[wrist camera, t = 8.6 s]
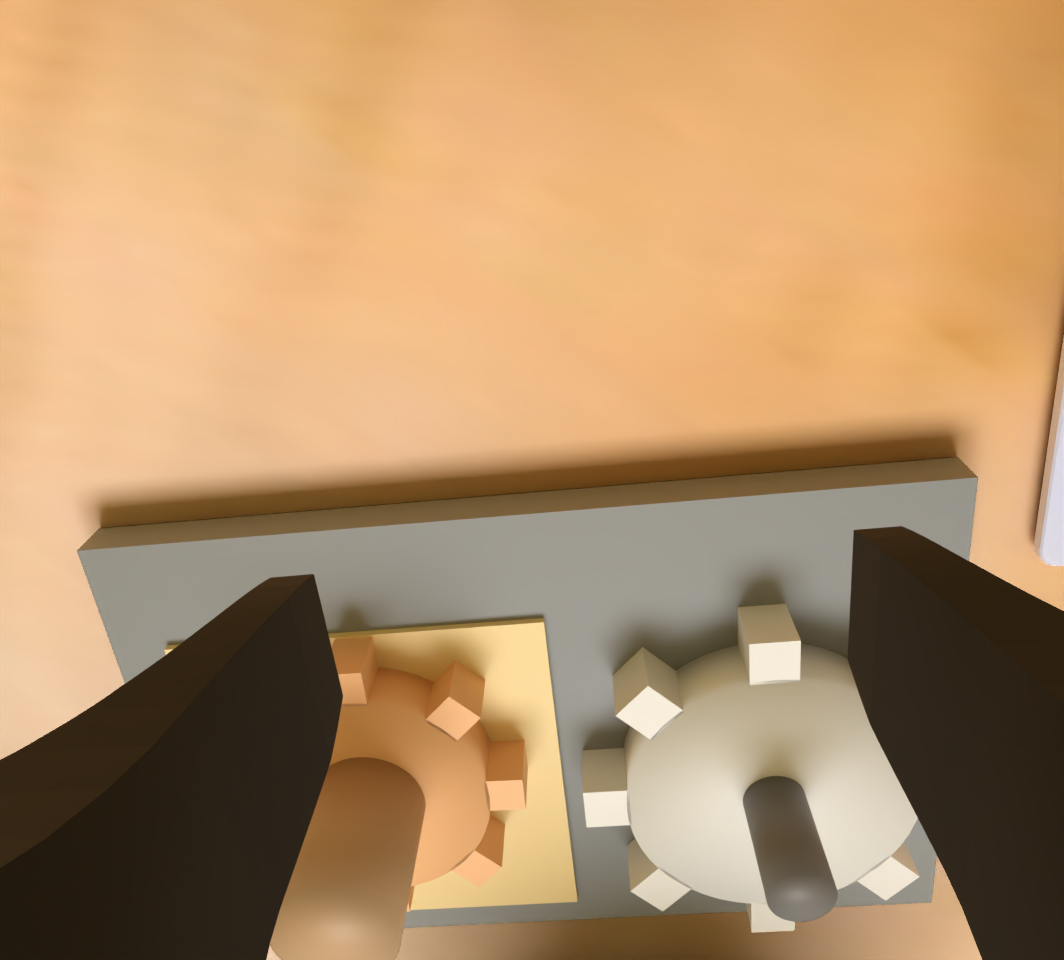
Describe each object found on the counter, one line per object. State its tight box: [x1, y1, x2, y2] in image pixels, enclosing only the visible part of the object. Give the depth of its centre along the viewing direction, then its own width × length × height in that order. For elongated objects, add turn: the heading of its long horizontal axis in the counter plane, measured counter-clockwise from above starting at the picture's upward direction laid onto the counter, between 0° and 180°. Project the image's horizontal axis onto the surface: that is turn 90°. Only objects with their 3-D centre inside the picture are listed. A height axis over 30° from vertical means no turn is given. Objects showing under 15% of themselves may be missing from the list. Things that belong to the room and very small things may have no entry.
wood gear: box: [270, 637, 528, 960], centre depth 22 cm, size 8×8×6 cm
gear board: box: [77, 457, 978, 933], centre depth 23 cm, size 22×14×6 cm, turn 96°
